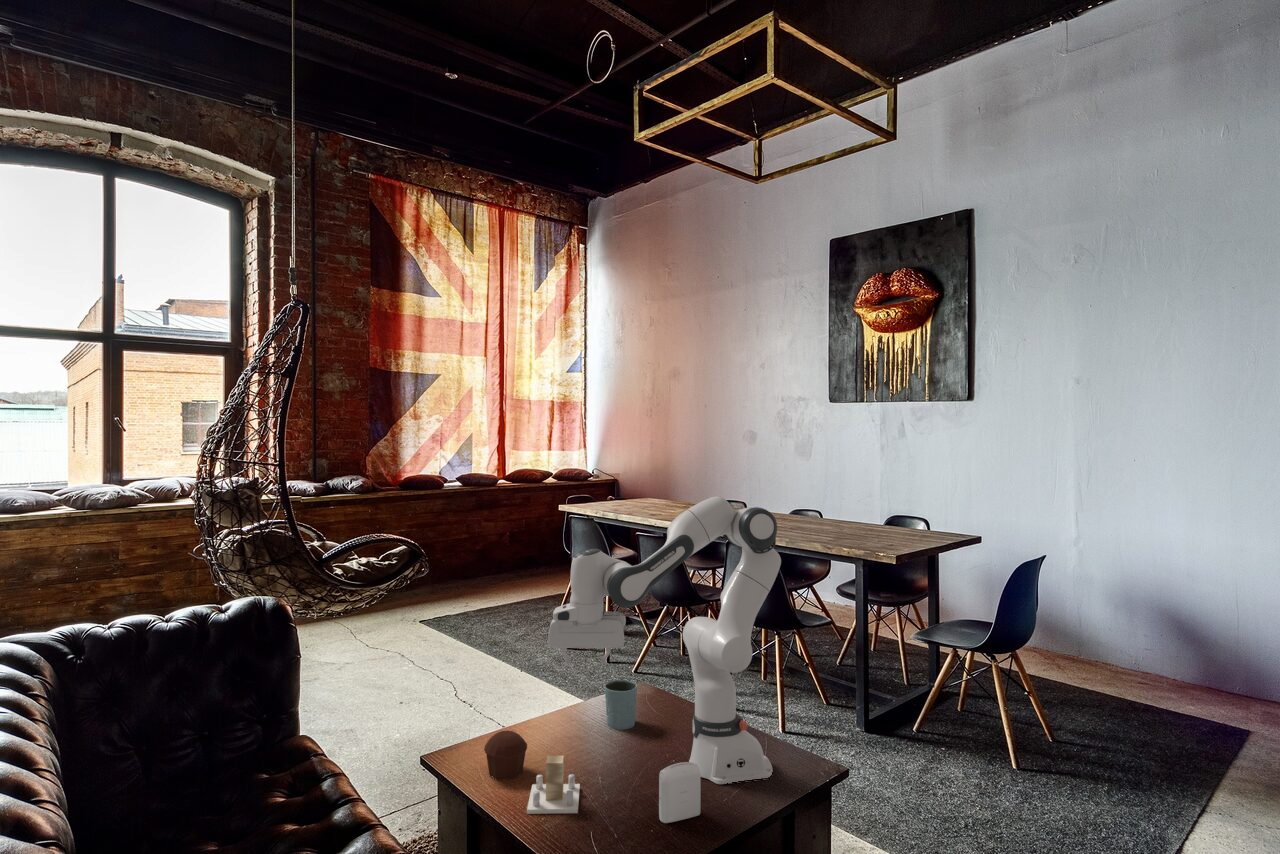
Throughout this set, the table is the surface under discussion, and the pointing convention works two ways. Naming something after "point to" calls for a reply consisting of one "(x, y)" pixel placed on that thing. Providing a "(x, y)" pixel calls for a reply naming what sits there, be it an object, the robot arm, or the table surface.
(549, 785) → the block
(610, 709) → the teal cup
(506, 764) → the muffin
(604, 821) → the table surface
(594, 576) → the robot arm
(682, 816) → the photo printer
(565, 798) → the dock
